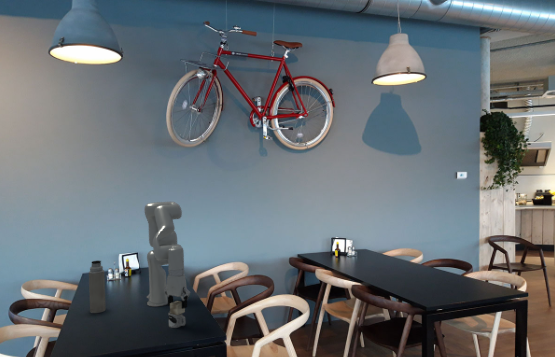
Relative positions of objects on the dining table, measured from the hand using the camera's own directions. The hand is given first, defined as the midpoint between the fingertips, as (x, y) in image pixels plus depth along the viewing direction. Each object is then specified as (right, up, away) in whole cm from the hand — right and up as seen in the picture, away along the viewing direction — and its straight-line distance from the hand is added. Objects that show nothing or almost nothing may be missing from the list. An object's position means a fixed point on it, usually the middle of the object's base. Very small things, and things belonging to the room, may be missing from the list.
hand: (177, 306), depth 213 cm
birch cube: (0, -3, 0) cm, 3 cm away
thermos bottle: (-51, -11, +26) cm, 58 cm away
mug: (0, -10, 0) cm, 10 cm away
